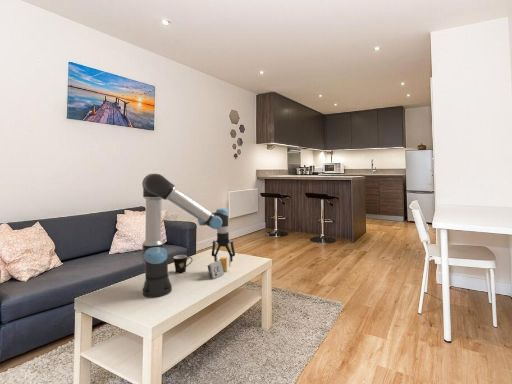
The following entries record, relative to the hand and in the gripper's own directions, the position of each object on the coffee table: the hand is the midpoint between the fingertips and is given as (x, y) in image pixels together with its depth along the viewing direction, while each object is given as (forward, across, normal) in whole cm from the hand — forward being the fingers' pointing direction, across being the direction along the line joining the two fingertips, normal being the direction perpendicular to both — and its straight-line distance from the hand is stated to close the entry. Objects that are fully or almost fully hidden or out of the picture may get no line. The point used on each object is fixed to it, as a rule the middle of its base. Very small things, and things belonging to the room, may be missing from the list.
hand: (223, 266), depth 187 cm
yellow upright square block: (+2, 0, 0) cm, 2 cm away
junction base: (+3, 0, 0) cm, 3 cm away
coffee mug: (+3, +27, +2) cm, 27 cm away
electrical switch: (+3, +3, +10) cm, 11 cm away
